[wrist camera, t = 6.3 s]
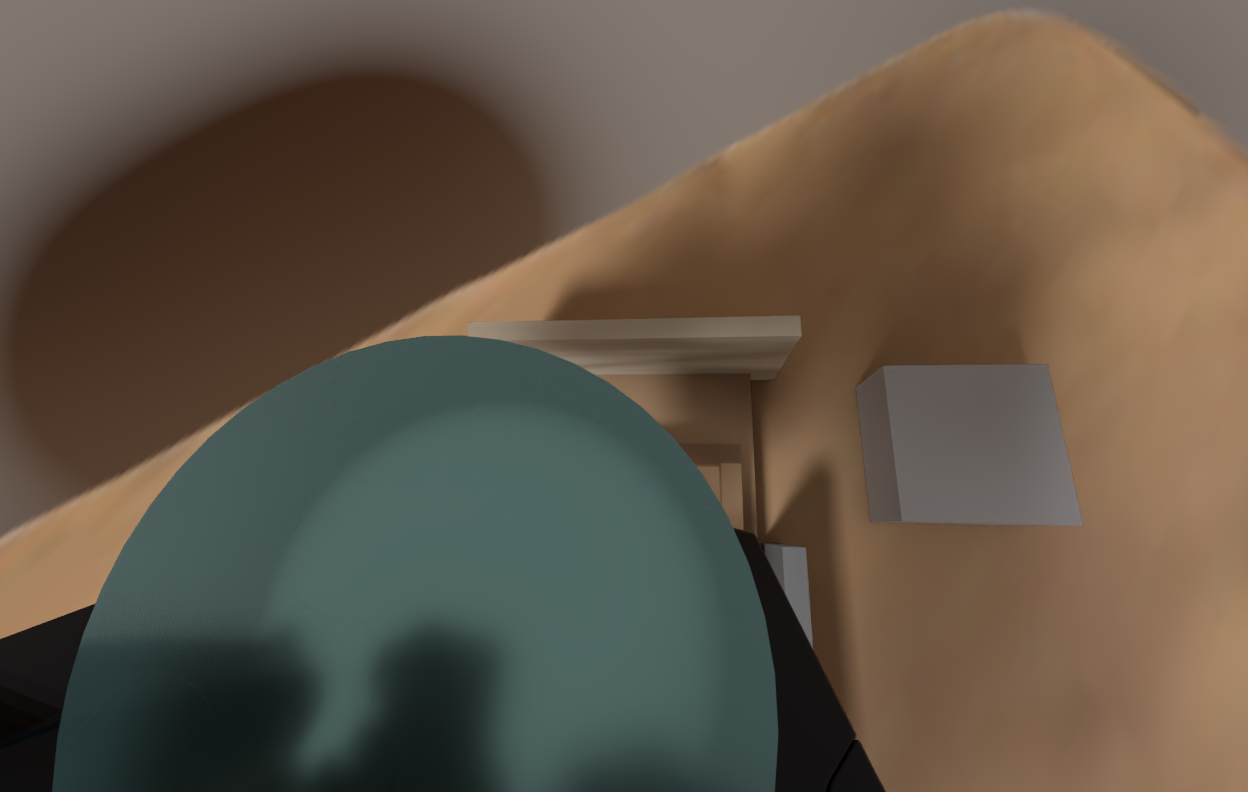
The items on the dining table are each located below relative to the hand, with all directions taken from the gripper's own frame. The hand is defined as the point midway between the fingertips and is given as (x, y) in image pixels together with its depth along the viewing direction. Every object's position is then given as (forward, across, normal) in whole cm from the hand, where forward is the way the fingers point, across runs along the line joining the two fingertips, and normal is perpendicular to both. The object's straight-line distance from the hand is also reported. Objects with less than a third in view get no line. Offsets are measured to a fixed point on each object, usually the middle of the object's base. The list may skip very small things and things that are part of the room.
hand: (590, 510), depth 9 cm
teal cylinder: (+2, 0, +4) cm, 5 cm away
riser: (+13, -12, +5) cm, 19 cm away
